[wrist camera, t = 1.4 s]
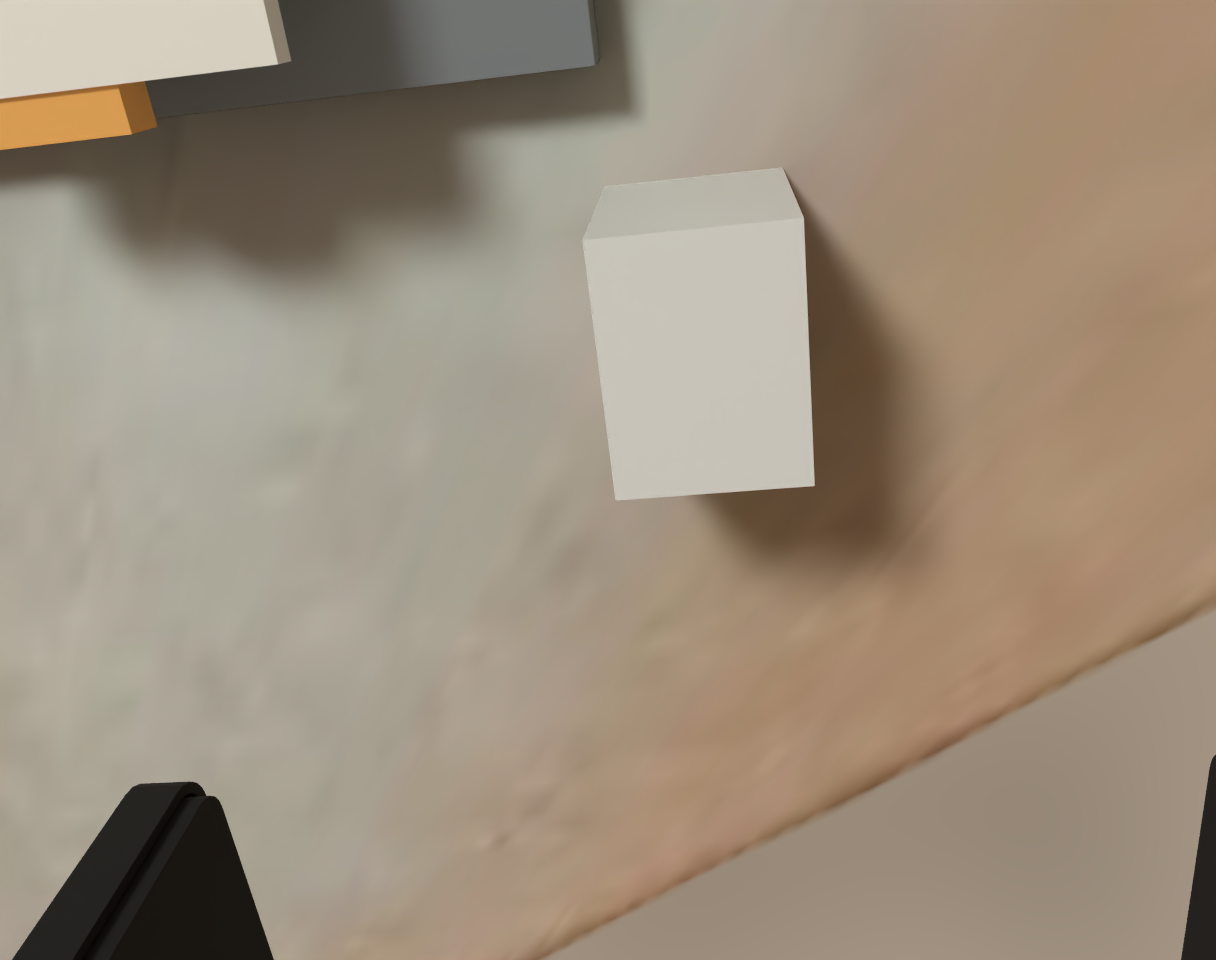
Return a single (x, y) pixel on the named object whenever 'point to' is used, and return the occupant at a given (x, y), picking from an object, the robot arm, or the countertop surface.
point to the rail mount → (393, 50)
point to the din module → (702, 334)
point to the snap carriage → (117, 60)
